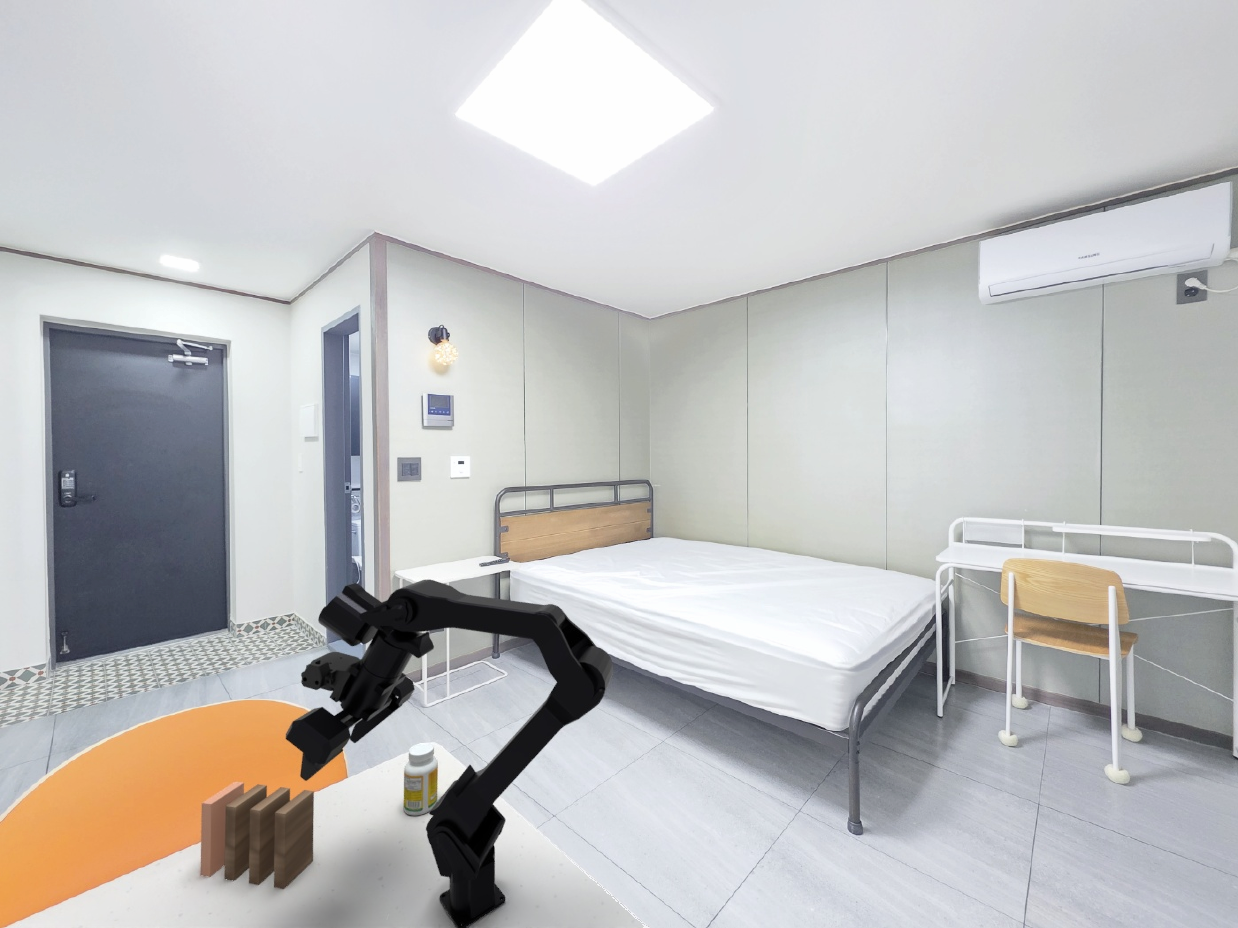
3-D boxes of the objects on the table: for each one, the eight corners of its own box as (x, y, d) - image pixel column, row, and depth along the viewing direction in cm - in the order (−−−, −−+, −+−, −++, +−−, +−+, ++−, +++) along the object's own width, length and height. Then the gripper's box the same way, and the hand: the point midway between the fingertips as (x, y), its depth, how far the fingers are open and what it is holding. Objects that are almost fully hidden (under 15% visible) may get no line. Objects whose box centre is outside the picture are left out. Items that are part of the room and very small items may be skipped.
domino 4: (312, 860, 72) (313, 790, 72) (284, 888, 67) (285, 813, 67) (303, 859, 72) (304, 789, 73) (273, 887, 67) (274, 812, 68)
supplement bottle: (408, 821, 80) (408, 761, 81) (399, 803, 85) (400, 746, 85) (441, 807, 84) (442, 750, 84) (432, 791, 88) (432, 736, 88)
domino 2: (265, 853, 74) (266, 785, 74) (234, 880, 69) (235, 807, 69) (256, 852, 74) (257, 784, 74) (224, 879, 69) (225, 805, 69)
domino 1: (242, 850, 74) (244, 782, 74) (209, 876, 69) (211, 804, 70) (233, 848, 74) (234, 781, 75) (200, 875, 70) (201, 802, 70)
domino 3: (289, 857, 73) (290, 788, 73) (258, 884, 68) (259, 810, 68) (279, 855, 73) (280, 786, 73) (248, 883, 68) (250, 809, 68)
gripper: (380, 613, 78) (334, 695, 79) (282, 655, 60) (224, 762, 61) (436, 652, 77) (388, 736, 78) (353, 708, 58) (292, 817, 59)
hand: (330, 758), depth 69 cm, fingers open, 9 cm apart
